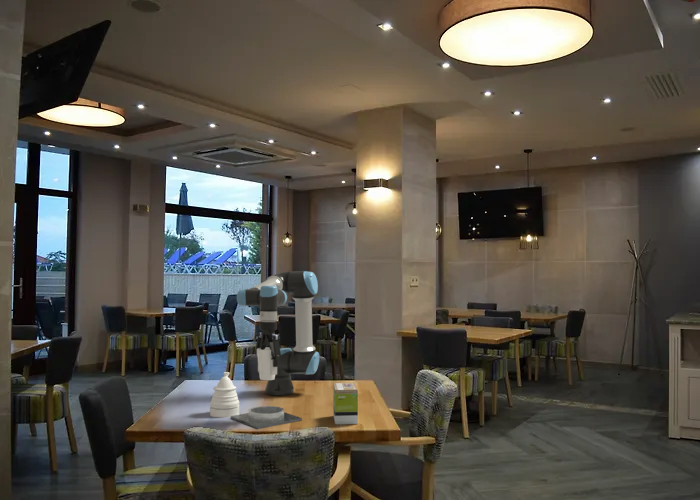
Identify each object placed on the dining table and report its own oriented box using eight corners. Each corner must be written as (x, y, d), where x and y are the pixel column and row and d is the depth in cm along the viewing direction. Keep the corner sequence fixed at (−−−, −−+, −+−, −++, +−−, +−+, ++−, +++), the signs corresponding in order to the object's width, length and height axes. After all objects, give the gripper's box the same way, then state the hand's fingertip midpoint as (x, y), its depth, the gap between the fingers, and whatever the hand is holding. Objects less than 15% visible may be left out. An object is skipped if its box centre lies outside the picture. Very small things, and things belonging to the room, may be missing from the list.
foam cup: (273, 381, 241) (274, 350, 241) (253, 380, 243) (253, 349, 243) (280, 377, 250) (281, 347, 251) (260, 376, 252) (261, 347, 252)
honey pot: (214, 410, 261) (215, 370, 262) (242, 410, 261) (242, 371, 261) (206, 417, 248) (207, 375, 249) (235, 417, 248) (236, 376, 249)
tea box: (332, 415, 253) (332, 382, 254) (355, 415, 254) (355, 382, 254) (334, 424, 238) (334, 389, 239) (358, 424, 239) (358, 388, 239)
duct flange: (273, 410, 261) (273, 402, 261) (301, 420, 244) (302, 410, 244) (230, 418, 246) (230, 409, 246) (257, 428, 230) (258, 418, 230)
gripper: (247, 319, 253) (246, 370, 252) (275, 323, 237) (274, 377, 236) (261, 319, 258) (260, 368, 257) (290, 322, 242) (289, 375, 241)
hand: (267, 372), depth 246 cm, fingers closed on foam cup, 9 cm apart
